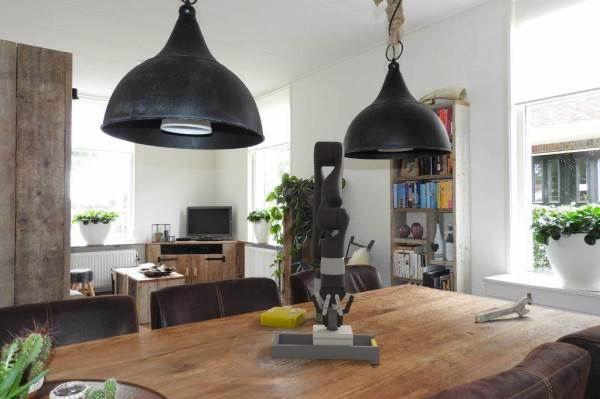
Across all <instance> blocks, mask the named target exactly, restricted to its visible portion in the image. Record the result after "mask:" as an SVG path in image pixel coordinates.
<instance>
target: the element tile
mask: <svg viewBox="0 0 600 399" xmlns="http://www.w3.org/2000/svg"><path fill="white" fill-rule="evenodd" d="M306 320H307V311H306V309H304V308H293V307H292V308H291V307H284V306H283V307H282V306H273V307H272V308H270V309H268V310H266V311H264V312H263V313H261V314H260V325H261V326H265V325H266V327H273V328H274V327H275V328H284V329H296V328H297V327H299V326H300V325H301V324H304V322H305V321H306Z"/></svg>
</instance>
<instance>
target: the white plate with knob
mask: <svg viewBox="0 0 600 399" xmlns="http://www.w3.org/2000/svg"><path fill="white" fill-rule="evenodd" d="M338 314H339V312H338V308H337V309H327V327H325V325H321V324H313V327H312V333H313V345H346V346H353V334H354V333H353V329H352V326H351V325H347V324H346V325H342V326H341V327H338Z"/></svg>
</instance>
